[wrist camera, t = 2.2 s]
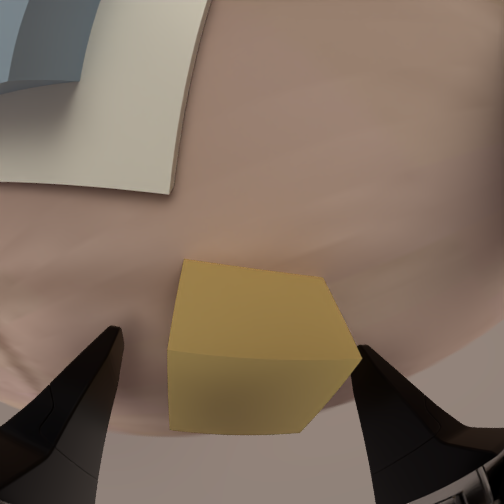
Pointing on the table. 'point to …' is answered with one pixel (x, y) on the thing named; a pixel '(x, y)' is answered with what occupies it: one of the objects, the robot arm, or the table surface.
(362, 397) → the robot arm
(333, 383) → the brick ochre
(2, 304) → the table surface
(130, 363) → the table surface
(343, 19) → the table surface
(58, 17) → the base brick
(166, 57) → the build plate
